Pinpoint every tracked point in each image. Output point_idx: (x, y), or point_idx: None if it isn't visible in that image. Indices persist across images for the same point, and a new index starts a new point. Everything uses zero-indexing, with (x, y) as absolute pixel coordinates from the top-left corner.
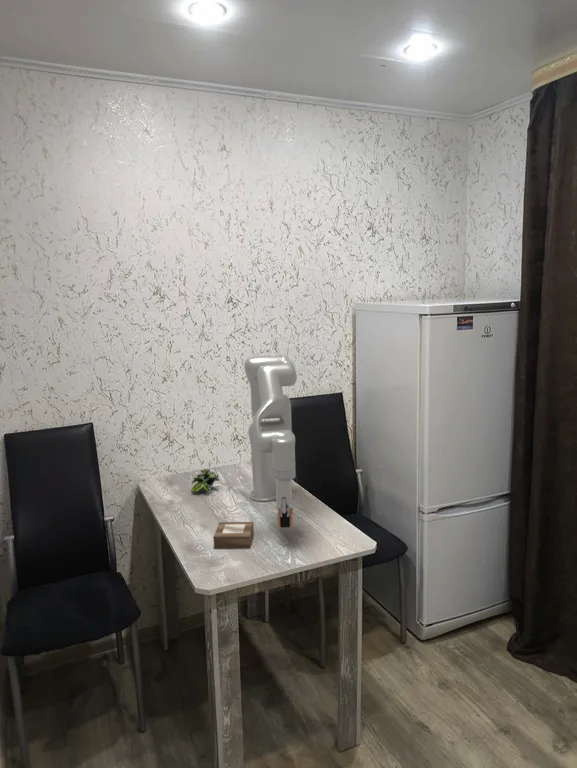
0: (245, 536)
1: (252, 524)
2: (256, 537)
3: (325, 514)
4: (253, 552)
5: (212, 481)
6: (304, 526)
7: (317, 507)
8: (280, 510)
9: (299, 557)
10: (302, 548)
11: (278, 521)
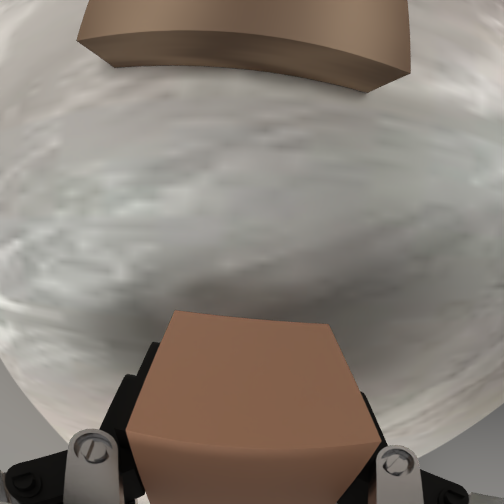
0: (87, 10)
1: (353, 53)
2: (284, 102)
3: (434, 440)
4: (58, 100)
5: None
6: (371, 398)
7: (490, 406)
8: (267, 470)
9: (26, 346)
10: (105, 377)
11: (156, 359)
